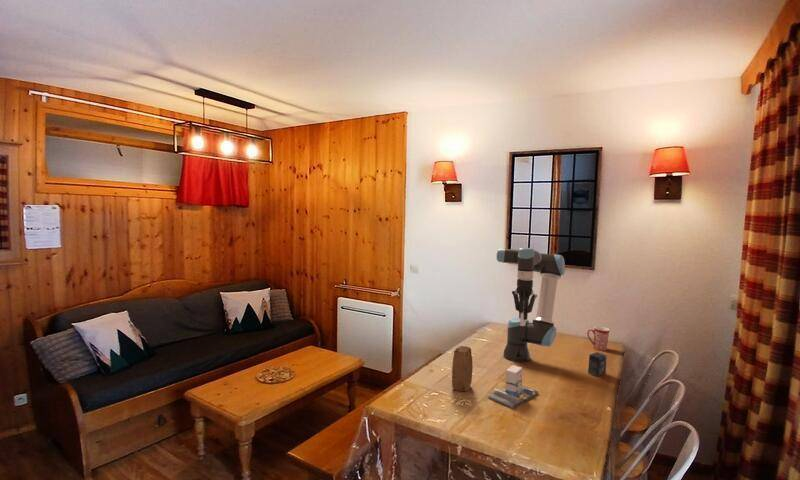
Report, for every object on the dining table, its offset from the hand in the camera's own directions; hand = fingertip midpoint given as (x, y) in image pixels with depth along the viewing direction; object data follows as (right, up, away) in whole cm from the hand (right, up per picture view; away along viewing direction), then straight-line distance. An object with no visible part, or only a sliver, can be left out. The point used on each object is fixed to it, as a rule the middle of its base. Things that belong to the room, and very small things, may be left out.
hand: (522, 325), depth 195 cm
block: (-32, -29, -6) cm, 43 cm away
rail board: (-8, -30, -13) cm, 34 cm away
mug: (+66, -28, +56) cm, 91 cm away
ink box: (-9, -29, -13) cm, 33 cm away
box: (+45, -30, +16) cm, 56 cm away
